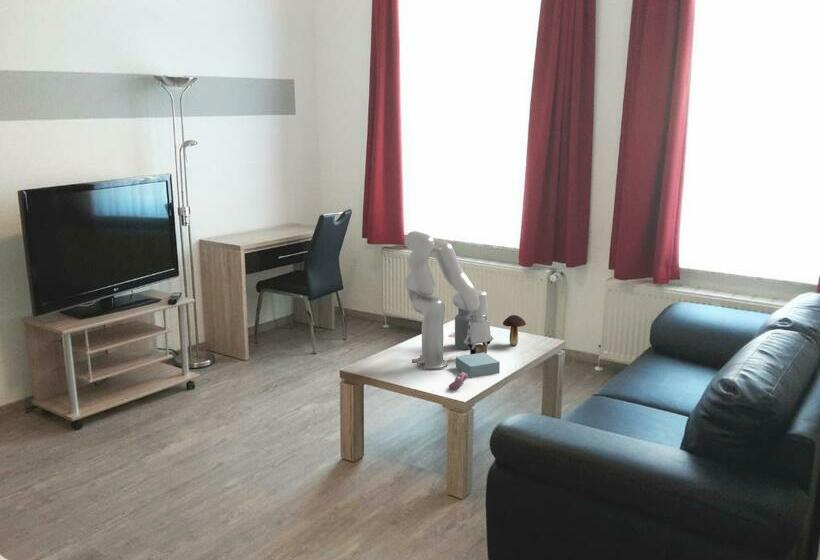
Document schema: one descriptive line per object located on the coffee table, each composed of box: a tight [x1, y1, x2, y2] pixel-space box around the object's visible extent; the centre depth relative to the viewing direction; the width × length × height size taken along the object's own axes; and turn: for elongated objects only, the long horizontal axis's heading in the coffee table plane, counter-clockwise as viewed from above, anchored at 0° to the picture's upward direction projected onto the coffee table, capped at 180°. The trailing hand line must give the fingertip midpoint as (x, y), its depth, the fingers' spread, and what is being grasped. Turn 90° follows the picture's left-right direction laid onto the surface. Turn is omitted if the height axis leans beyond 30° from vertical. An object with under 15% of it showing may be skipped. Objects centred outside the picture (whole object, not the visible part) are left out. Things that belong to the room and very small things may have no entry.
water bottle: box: [454, 307, 470, 350], centre depth 351 cm, size 10×10×28 cm
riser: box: [455, 352, 501, 379], centre depth 322 cm, size 14×14×5 cm
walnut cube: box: [474, 343, 487, 354], centre depth 340 cm, size 5×5×5 cm
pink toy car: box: [448, 372, 468, 390], centre depth 304 cm, size 10×5×7 cm, turn 159°
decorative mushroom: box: [502, 314, 527, 346], centre depth 353 cm, size 11×11×15 cm
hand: (478, 355), depth 340 cm, fingers closed on walnut cube, 5 cm apart
